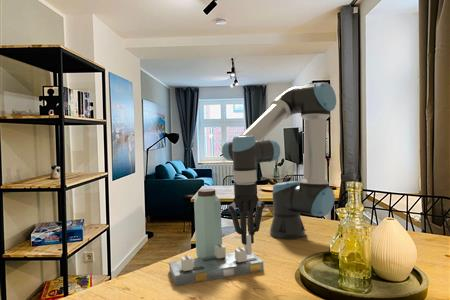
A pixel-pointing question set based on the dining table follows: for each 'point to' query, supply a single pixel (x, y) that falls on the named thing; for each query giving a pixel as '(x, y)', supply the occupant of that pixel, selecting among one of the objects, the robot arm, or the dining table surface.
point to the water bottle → (207, 222)
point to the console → (214, 268)
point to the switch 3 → (240, 254)
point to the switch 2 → (220, 251)
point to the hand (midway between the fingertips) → (248, 253)
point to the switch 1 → (186, 263)
